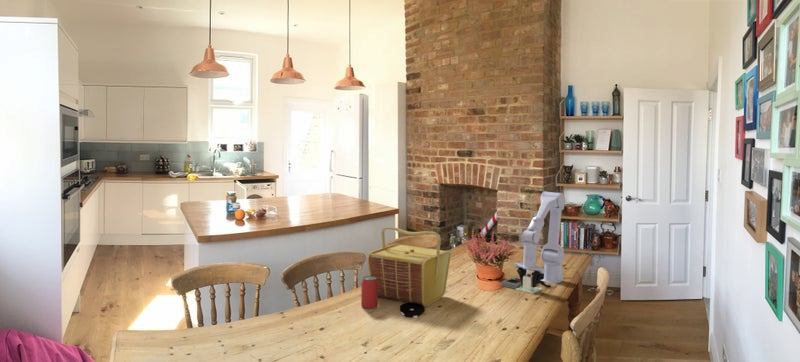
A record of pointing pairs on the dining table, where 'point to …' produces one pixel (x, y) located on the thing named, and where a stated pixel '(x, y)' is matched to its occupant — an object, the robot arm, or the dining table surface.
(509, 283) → the small drawer cabinet
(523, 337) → the dining table surface
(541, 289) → the tray
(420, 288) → the picnic basket
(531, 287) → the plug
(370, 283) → the beer can
